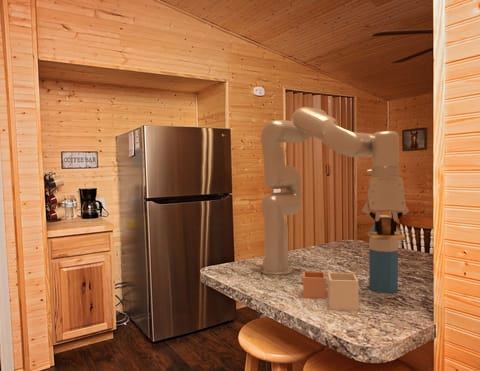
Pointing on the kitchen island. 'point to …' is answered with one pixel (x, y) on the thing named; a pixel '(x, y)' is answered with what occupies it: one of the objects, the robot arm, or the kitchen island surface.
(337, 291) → the cream open box
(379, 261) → the water bottle
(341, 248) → the kitchen island surface
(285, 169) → the robot arm
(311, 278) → the orange open box
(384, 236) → the lid
